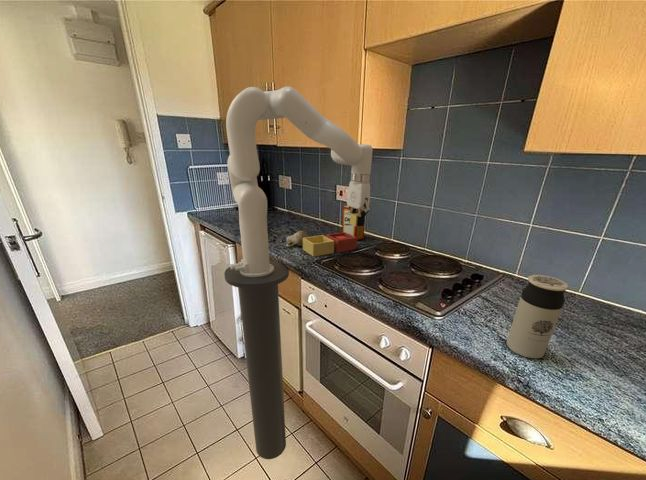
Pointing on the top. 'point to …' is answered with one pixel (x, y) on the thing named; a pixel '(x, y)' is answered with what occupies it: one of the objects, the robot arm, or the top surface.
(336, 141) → the robot arm
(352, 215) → the yellow block
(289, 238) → the beige animal figurine
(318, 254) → the yellow bin
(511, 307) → the top surface
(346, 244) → the red bin
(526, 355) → the travel mug
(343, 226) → the baking soda box
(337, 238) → the red block
